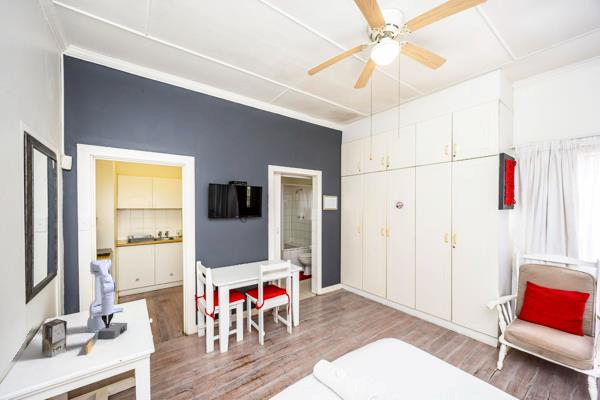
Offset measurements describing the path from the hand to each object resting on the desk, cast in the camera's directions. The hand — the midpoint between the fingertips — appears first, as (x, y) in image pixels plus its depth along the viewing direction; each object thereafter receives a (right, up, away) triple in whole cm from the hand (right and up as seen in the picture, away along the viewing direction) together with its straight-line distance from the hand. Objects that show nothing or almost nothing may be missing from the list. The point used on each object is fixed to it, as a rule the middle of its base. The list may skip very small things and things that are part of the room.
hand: (107, 327), depth 139 cm
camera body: (-4, -9, +10) cm, 14 cm away
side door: (-6, -9, -3) cm, 11 cm away
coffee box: (-22, -9, -8) cm, 25 cm away
